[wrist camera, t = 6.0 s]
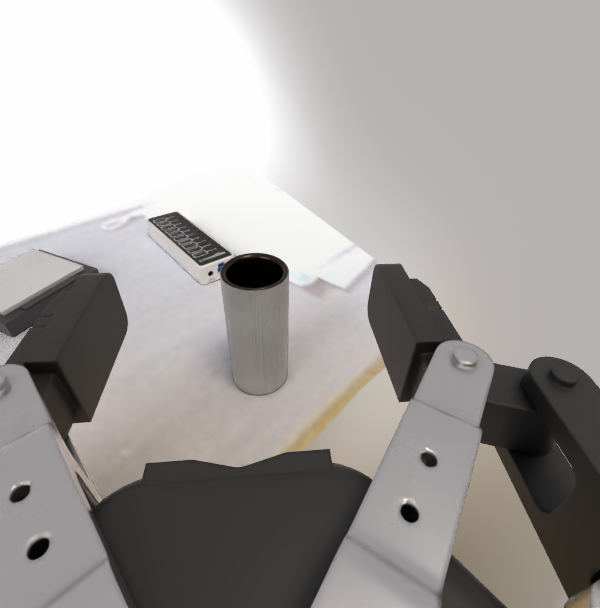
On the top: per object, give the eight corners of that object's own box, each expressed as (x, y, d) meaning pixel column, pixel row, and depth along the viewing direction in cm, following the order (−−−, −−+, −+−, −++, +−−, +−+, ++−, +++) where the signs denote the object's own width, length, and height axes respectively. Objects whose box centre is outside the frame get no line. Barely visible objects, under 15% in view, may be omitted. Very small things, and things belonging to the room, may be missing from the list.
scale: (13, 337, 33) (2, 320, 32) (-49, 309, 36) (-62, 292, 35) (102, 280, 41) (96, 264, 39) (44, 261, 43) (37, 245, 42)
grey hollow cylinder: (298, 375, 31) (303, 271, 24) (255, 405, 28) (247, 299, 22) (264, 346, 33) (260, 245, 27) (221, 372, 31) (206, 267, 24)
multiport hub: (180, 226, 51) (177, 210, 50) (237, 272, 43) (235, 254, 41) (148, 235, 49) (144, 219, 47) (202, 285, 40) (199, 267, 39)
